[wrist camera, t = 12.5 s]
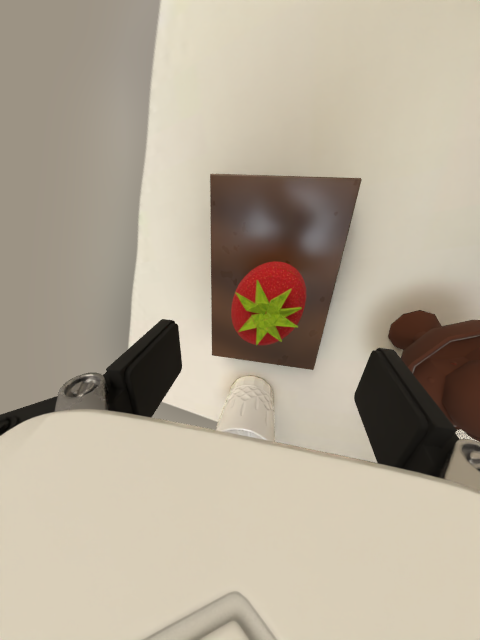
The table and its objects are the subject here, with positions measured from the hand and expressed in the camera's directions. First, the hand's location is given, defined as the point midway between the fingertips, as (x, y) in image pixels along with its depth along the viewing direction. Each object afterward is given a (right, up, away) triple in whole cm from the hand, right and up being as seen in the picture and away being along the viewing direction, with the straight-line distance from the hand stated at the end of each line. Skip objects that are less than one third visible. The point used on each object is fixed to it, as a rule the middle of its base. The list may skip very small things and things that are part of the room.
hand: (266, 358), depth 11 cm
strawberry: (+2, +6, +13) cm, 14 cm away
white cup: (+1, -10, +25) cm, 26 cm away
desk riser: (+3, +7, +16) cm, 18 cm away
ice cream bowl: (+20, +1, +16) cm, 26 cm away
